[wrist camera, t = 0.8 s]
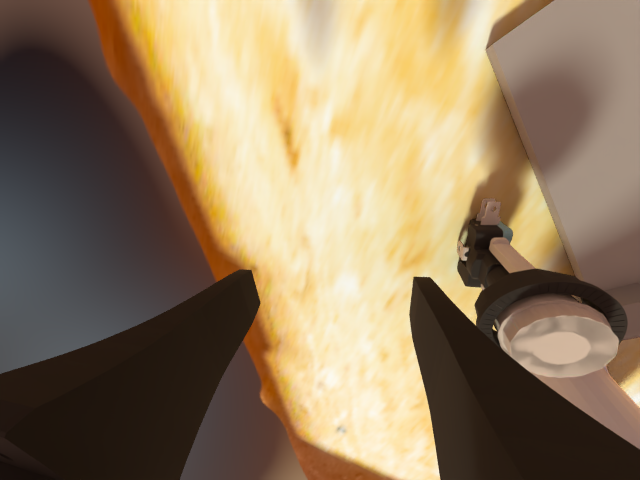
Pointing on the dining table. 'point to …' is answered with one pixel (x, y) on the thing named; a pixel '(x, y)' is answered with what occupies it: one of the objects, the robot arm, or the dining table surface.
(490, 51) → the mat
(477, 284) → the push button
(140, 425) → the robot arm
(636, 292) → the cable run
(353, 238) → the dining table surface
